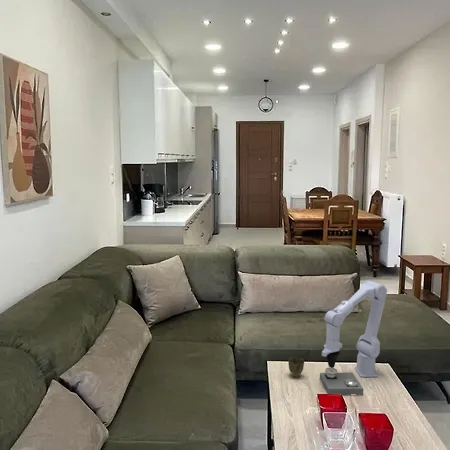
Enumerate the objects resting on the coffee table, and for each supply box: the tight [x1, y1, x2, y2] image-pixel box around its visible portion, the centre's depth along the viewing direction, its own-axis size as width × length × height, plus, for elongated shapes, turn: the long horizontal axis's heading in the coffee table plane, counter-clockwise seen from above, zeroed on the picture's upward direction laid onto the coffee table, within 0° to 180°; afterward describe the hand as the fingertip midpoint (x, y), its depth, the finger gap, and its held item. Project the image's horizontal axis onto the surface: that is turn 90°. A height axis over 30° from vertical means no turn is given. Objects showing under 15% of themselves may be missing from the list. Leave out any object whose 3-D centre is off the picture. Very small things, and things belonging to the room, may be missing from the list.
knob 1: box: [324, 366, 338, 379], centre depth 211 cm, size 5×5×4 cm
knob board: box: [319, 371, 364, 396], centre depth 208 cm, size 15×15×3 cm
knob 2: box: [345, 379, 357, 387], centre depth 204 cm, size 5×5×4 cm
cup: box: [287, 356, 305, 378], centre depth 217 cm, size 8×7×8 cm
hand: (331, 366), depth 210 cm, fingers closed
